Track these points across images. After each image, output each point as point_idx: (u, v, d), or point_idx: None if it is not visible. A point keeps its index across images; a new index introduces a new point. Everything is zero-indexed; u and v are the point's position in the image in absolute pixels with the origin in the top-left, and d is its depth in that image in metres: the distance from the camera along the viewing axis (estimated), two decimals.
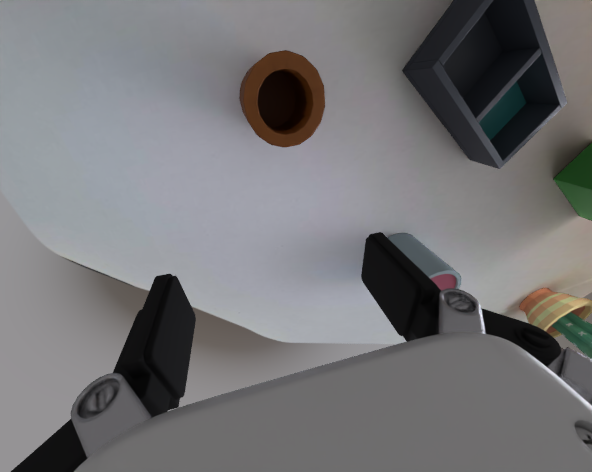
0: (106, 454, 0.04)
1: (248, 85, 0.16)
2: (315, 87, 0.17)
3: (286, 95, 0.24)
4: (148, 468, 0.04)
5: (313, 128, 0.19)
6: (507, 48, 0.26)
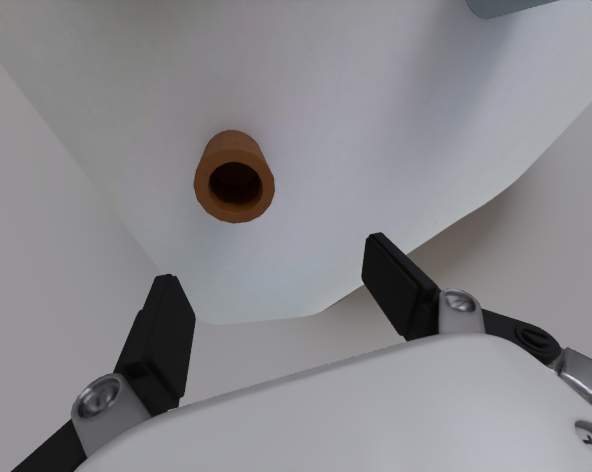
0: (106, 454, 0.04)
1: (222, 218, 0.19)
2: (222, 159, 0.17)
3: None
4: (148, 468, 0.04)
5: (260, 162, 0.18)
6: None
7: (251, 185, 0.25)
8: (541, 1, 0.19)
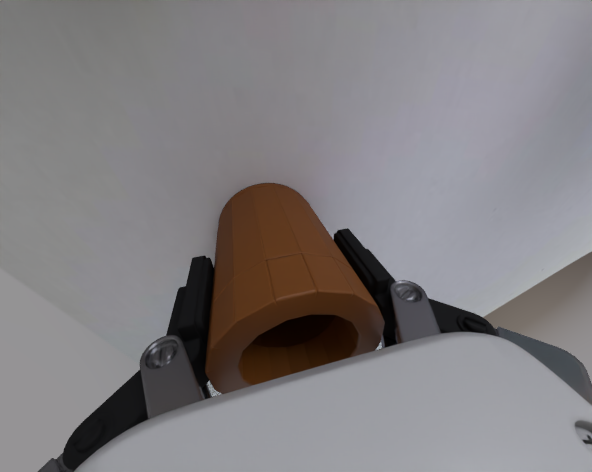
0: (106, 454, 0.04)
1: None
2: (274, 317, 0.07)
3: None
4: (148, 468, 0.04)
5: (363, 305, 0.07)
6: None
7: None
8: None
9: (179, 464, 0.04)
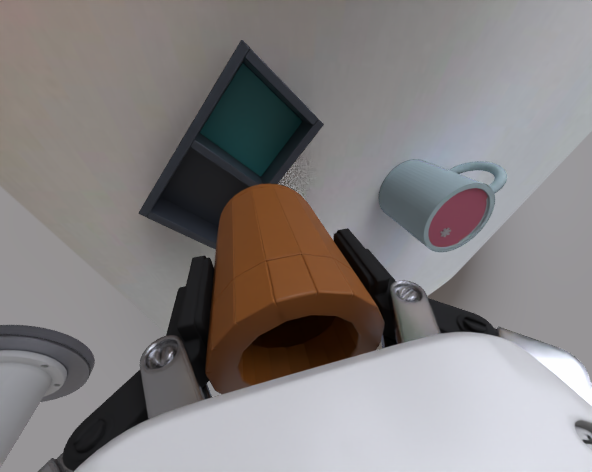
0: (106, 454, 0.04)
1: None
2: (275, 318, 0.07)
3: None
4: (148, 468, 0.04)
5: (363, 306, 0.07)
6: None
7: None
8: None
9: (179, 464, 0.04)
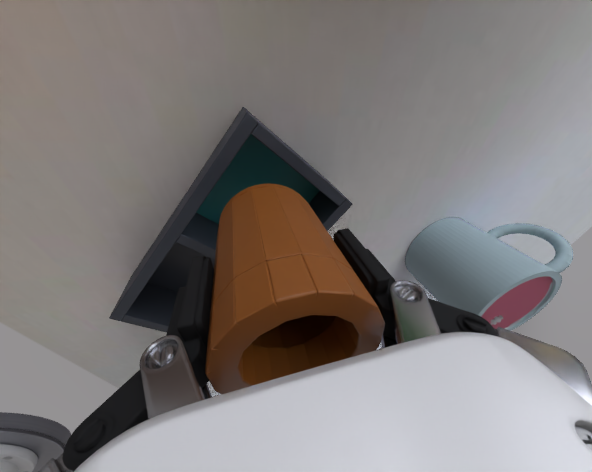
0: (106, 454, 0.04)
1: None
2: (275, 318, 0.06)
3: None
4: (148, 468, 0.04)
5: (363, 306, 0.07)
6: None
7: None
8: None
9: (179, 464, 0.04)
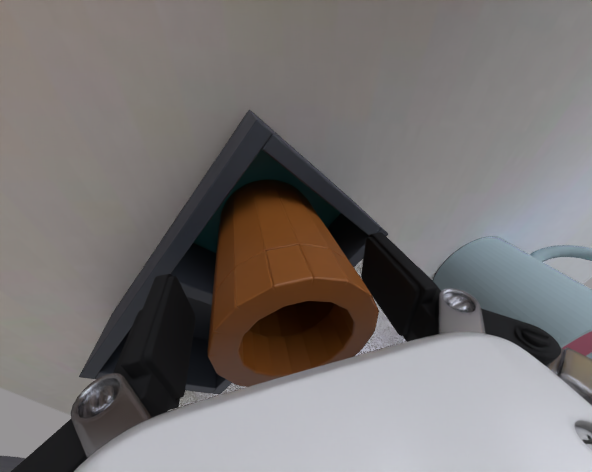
0: (106, 454, 0.04)
1: None
2: (273, 303, 0.07)
3: None
4: (148, 468, 0.04)
5: (357, 293, 0.08)
6: None
7: None
8: None
9: (179, 464, 0.04)
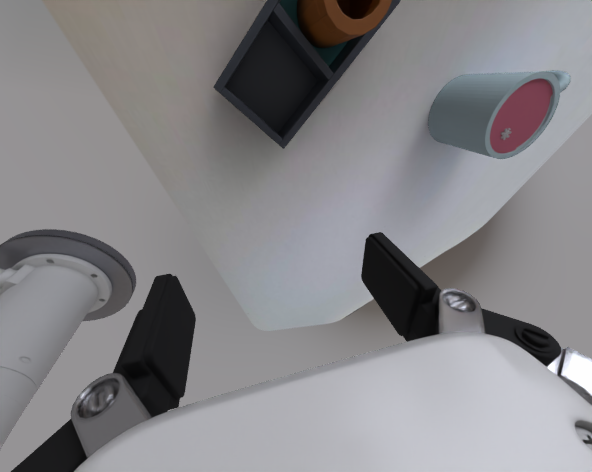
0: (106, 454, 0.04)
1: (339, 25, 0.19)
2: None
3: None
4: (148, 468, 0.04)
5: None
6: (266, 22, 0.24)
7: None
8: None
9: (179, 464, 0.04)
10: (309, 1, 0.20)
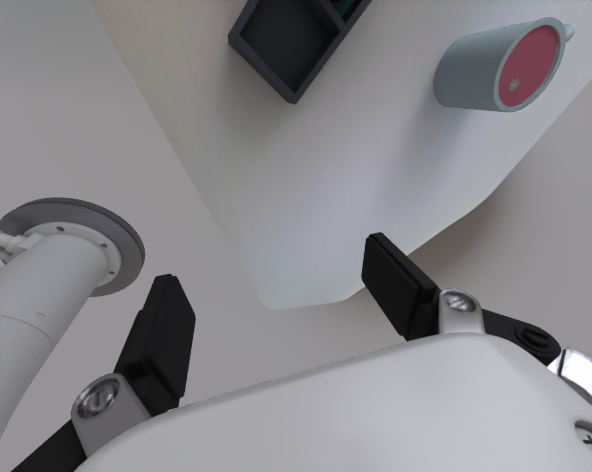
0: (106, 454, 0.04)
1: None
2: None
3: None
4: (148, 468, 0.04)
5: None
6: None
7: None
8: (478, 109, 0.34)
9: (179, 464, 0.04)
10: None
